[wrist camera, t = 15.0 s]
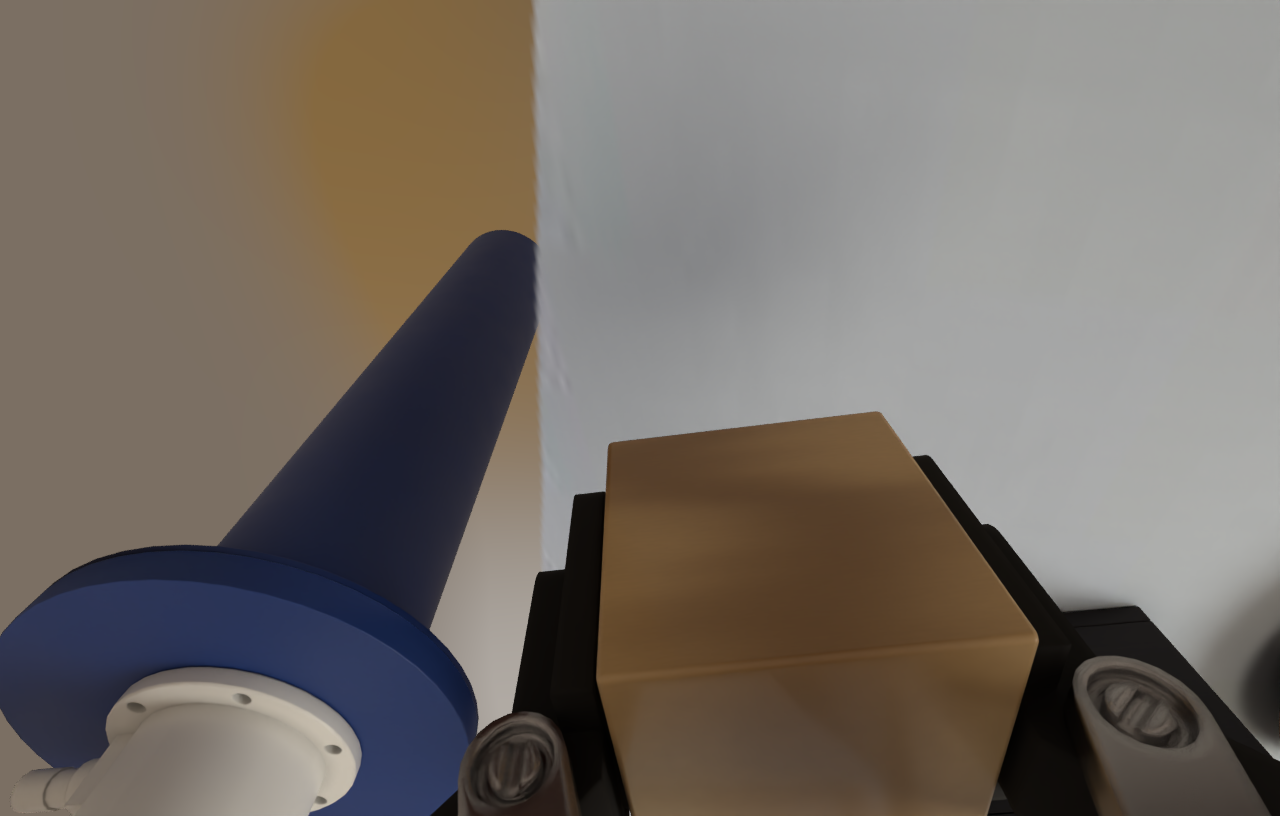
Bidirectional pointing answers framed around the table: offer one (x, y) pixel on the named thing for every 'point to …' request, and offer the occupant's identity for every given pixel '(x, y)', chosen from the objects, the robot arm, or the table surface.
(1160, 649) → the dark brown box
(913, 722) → the block
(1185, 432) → the table surface
